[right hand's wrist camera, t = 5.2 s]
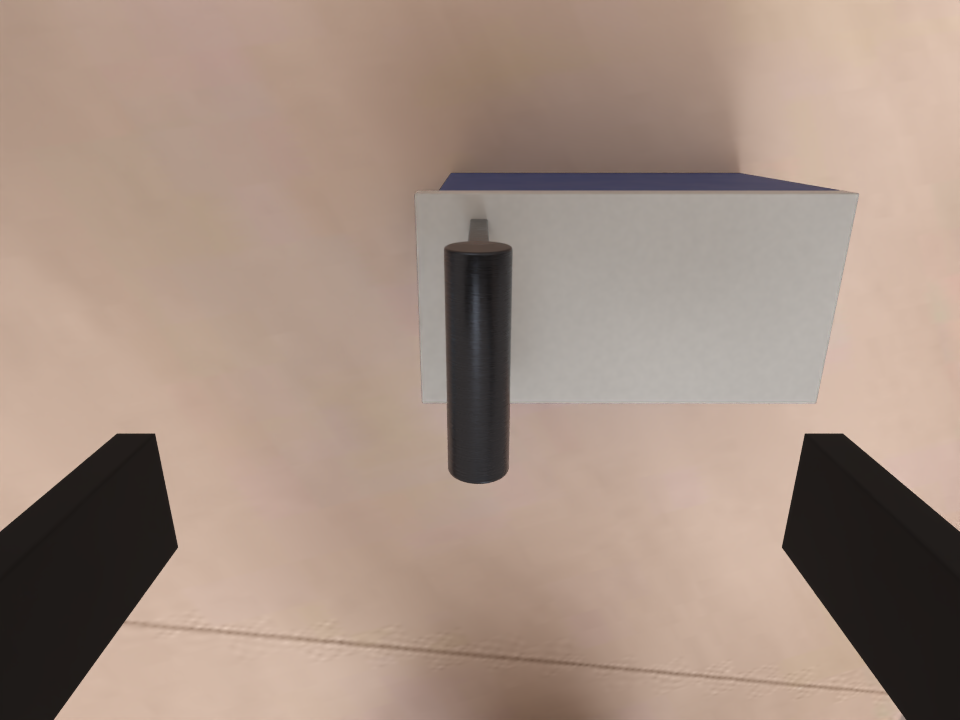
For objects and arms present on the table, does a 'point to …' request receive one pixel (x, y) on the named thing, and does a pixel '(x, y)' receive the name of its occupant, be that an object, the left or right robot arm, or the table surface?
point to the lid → (620, 302)
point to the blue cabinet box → (619, 182)
